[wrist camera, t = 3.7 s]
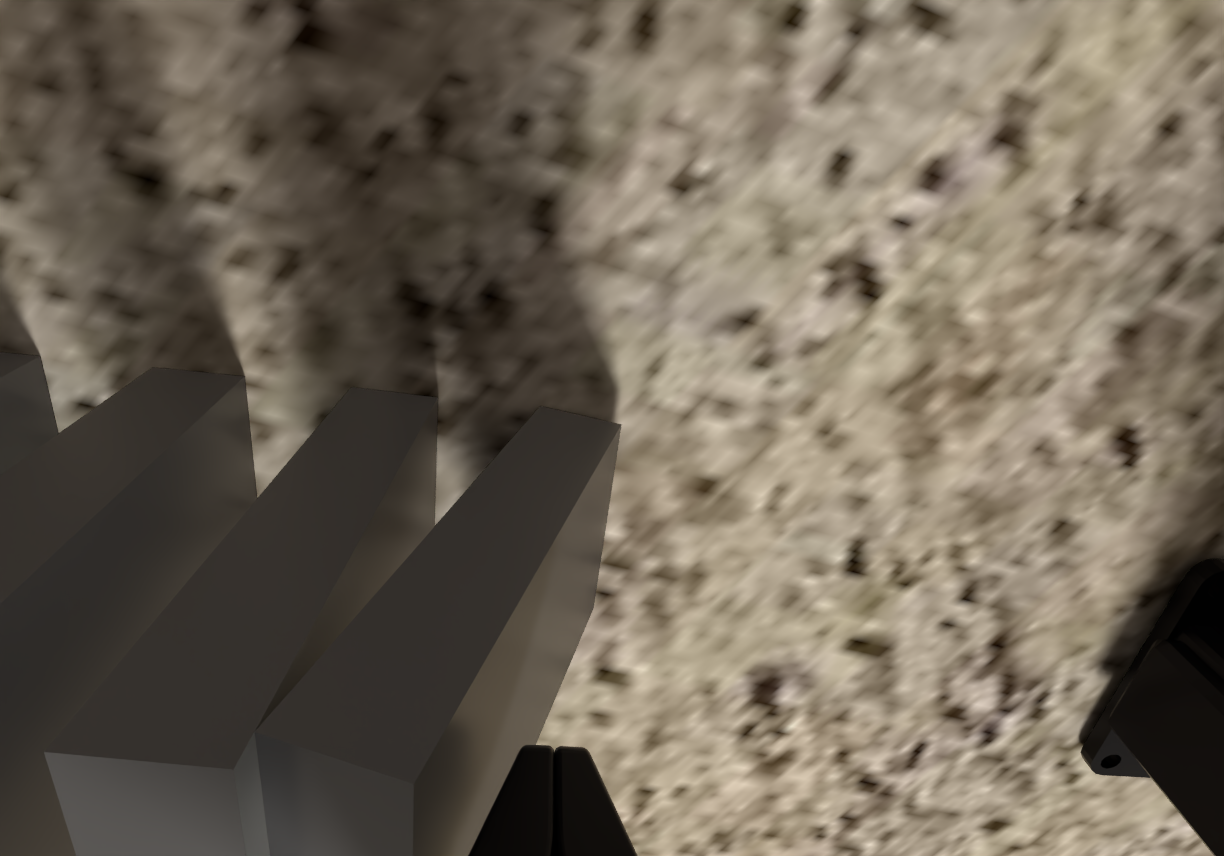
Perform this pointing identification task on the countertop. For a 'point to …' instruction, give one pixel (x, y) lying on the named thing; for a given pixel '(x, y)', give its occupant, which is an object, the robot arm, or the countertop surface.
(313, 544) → the tile
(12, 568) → the tile
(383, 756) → the tile
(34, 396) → the tile
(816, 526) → the countertop surface
